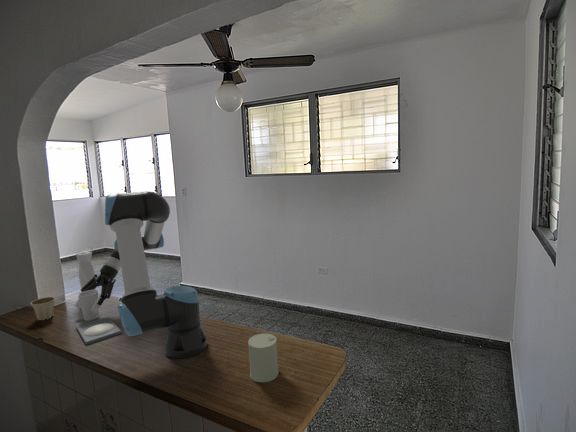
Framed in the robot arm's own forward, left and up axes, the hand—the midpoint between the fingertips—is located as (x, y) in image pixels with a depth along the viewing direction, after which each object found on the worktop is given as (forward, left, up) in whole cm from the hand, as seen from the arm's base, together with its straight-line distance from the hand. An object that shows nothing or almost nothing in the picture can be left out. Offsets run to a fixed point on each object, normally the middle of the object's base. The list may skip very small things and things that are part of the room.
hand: (84, 309), depth 158 cm
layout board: (-17, -1, -5) cm, 18 cm away
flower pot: (+17, +14, -5) cm, 22 cm away
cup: (+1, -2, -5) cm, 6 cm away
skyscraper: (+27, -7, -5) cm, 28 cm away
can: (-92, -33, -5) cm, 98 cm away
